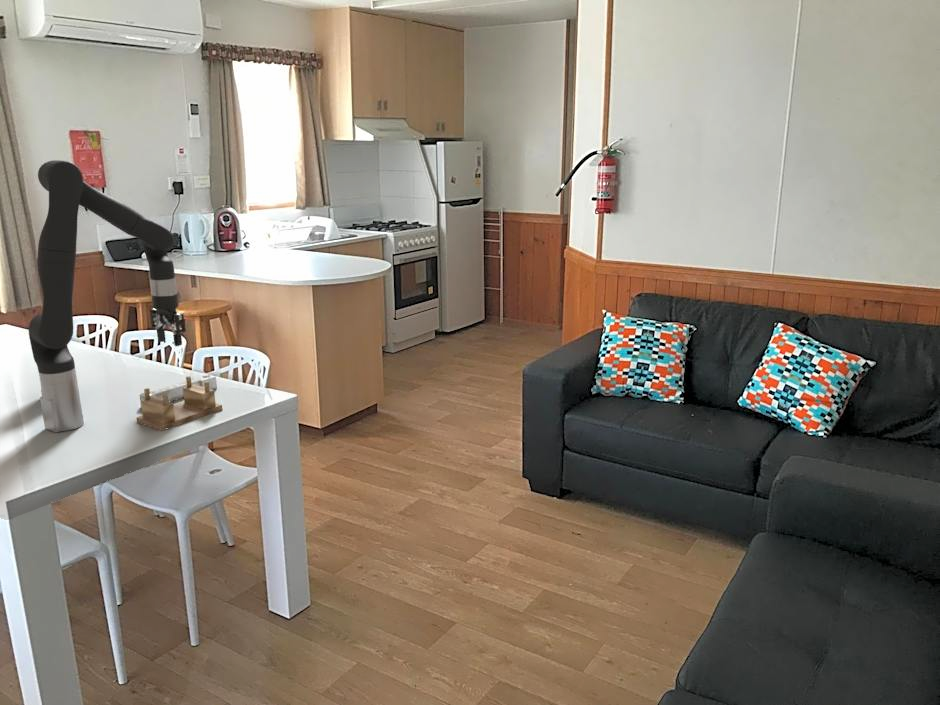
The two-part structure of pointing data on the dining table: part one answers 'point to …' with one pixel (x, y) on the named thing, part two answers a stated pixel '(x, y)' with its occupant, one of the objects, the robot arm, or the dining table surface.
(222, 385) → the dining table surface
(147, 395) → the tool rest
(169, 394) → the long white beam
